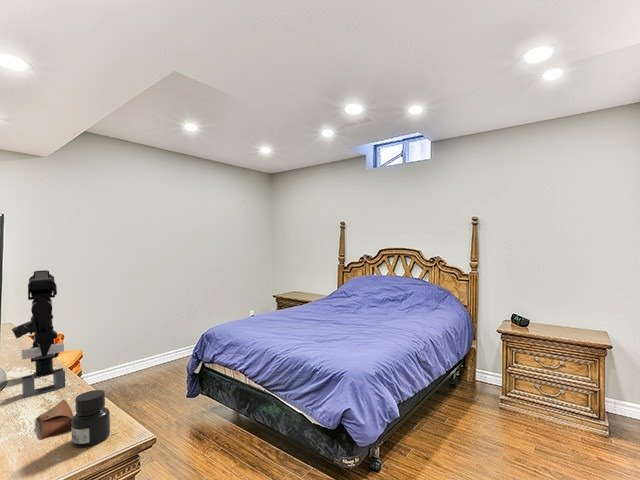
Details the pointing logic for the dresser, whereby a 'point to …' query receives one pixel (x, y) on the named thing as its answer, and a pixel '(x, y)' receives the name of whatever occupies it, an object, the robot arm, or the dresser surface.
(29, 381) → the standards
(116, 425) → the dresser surface
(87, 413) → the ink bottle
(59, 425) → the sunglasses case
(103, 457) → the dresser surface
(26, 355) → the rail
